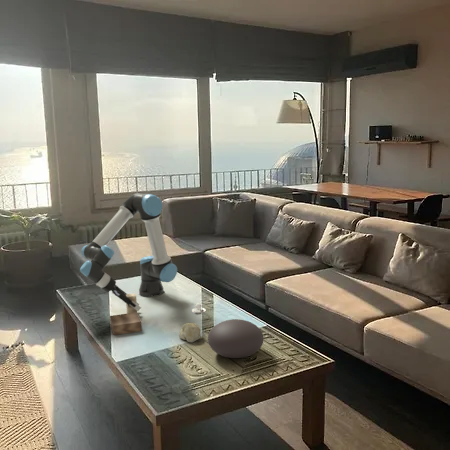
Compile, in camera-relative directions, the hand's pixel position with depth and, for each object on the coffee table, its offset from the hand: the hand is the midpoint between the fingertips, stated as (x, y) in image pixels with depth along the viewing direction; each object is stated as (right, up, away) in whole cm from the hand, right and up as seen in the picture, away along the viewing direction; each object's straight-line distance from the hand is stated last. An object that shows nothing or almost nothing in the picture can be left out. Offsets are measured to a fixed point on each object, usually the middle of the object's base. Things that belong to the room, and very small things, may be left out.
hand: (138, 307), depth 273 cm
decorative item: (+31, -10, -33) cm, 47 cm away
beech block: (-3, -4, -1) cm, 5 cm away
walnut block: (-3, -7, -19) cm, 21 cm away
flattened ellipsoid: (+53, -12, -51) cm, 74 cm away
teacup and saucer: (+30, -3, +2) cm, 31 cm away
